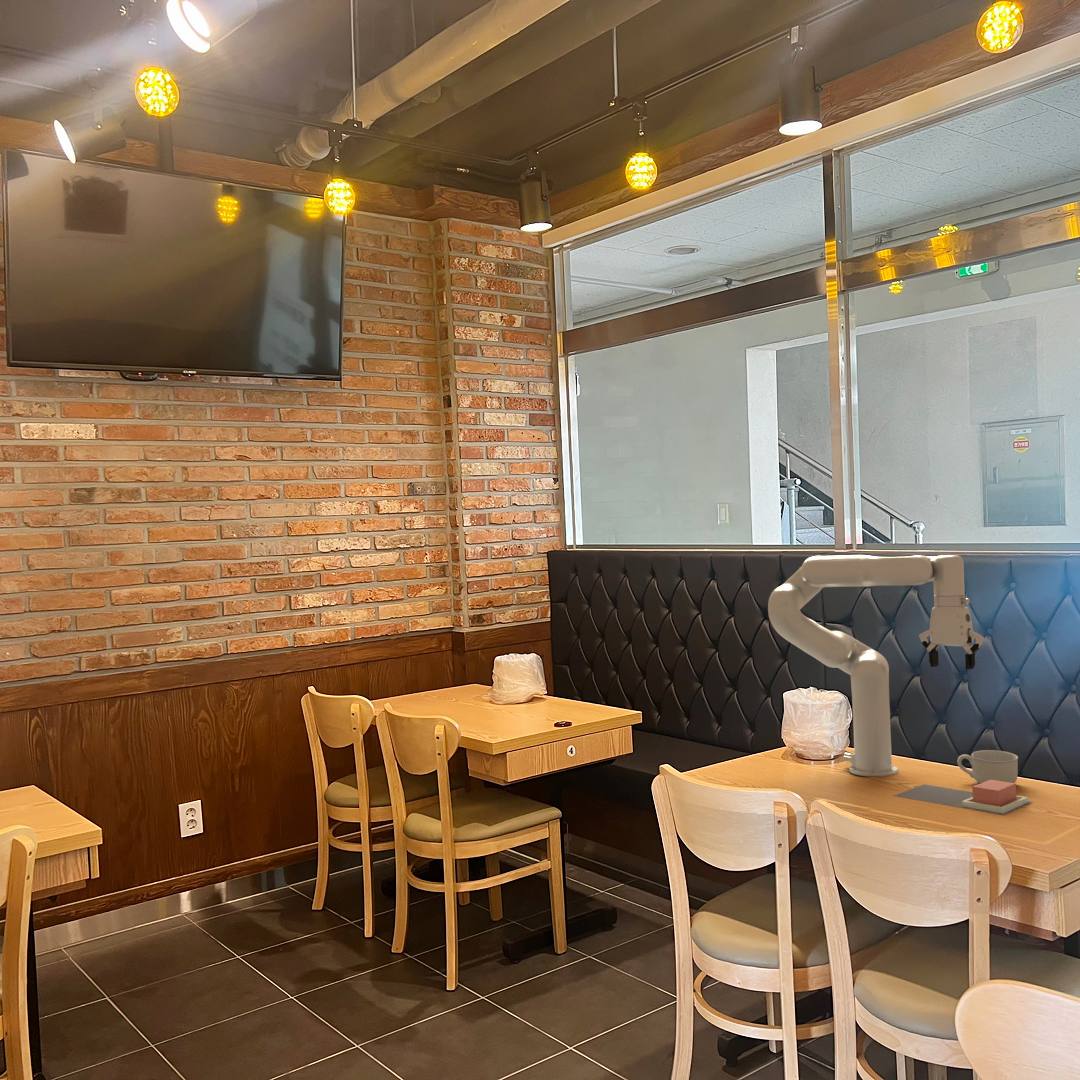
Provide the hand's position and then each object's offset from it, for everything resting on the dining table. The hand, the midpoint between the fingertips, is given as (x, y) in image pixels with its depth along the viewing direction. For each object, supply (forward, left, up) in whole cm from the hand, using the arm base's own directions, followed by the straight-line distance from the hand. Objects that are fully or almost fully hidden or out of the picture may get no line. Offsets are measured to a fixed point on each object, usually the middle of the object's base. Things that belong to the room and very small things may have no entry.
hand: (952, 667), depth 269 cm
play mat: (+13, -23, -28) cm, 39 cm away
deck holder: (+21, -23, -28) cm, 42 cm away
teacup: (+11, -5, -29) cm, 31 cm away
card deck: (+21, -23, -28) cm, 42 cm away
